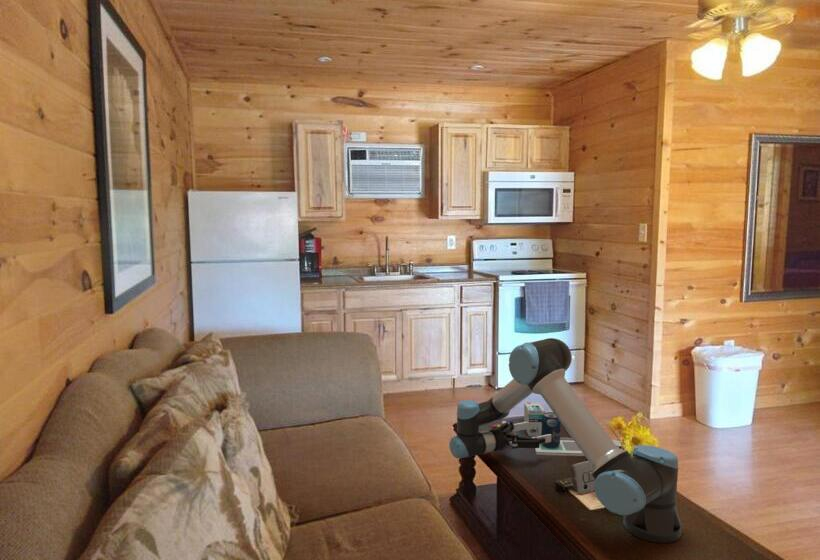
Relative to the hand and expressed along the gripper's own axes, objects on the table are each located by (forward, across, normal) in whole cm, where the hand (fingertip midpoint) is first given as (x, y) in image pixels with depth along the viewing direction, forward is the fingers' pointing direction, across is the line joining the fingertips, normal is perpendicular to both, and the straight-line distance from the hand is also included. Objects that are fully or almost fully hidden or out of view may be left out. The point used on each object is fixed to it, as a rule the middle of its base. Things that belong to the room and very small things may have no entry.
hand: (539, 431), depth 212 cm
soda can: (+5, 0, -6) cm, 8 cm away
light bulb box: (+10, -16, -8) cm, 21 cm away
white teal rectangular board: (+9, +1, -8) cm, 12 cm away
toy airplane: (-4, -17, -8) cm, 19 cm away
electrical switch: (-5, +30, -8) cm, 32 cm away
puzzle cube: (+11, +23, -8) cm, 27 cm away
